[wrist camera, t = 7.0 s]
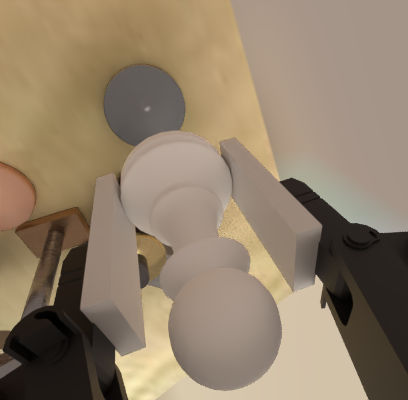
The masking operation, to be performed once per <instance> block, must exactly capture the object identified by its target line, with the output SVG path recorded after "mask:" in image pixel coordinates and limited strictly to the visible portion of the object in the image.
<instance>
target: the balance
mask: <svg viewBox="0 0 408 400" xmlns="http://www.w3.org/2000/svg"><path fill="white" fill-rule="evenodd" d="M15 233H16V234H17V235H18V236H19V237H20V239H21V240H22V241H23V242H24V243H25V244H26V245H27V247H28V248H29V249H30V250H31V251H32V252H33V253H34V255H35V256H36V257H37V258H40V260H39V263H38V267H37V270H36V273H35V276H34V279H33V283H32V286H31V289H30V292H29V295H28V298H27V302H26V305H25V308H24V311H23V314H22V317H21V320H22V319H23V318H24V317H25V316H27V315H28V314H29V313H31V312H32V311H34V310H36V309H39V308H41V307H44V306H49V302H50V297H51V293H52V289H53V285H54V280H55V276H56V272H57V267H58V263H59V259H60V255H61V251H62V250H65V249H68V248H71V247H74V246H77V245H80V244H83V243H86V242H89V234H90V227H89V226H88V224H87V222H86V221H85V219H84V218H83V216H82V214H81V213H80V211H79V209H78V208H77V207H75V208H72V209H68V210H65V211H62V212H59V213H55V214H52V215H49V216H46V217H42V218H39V219H36V220H32V221H29V222H26V223H23V224H21V225H19V226H18V227H17V229H16V231H15ZM136 243H137V254H138V265H139V276H140V288H141V289H142V288H144V287H145V286H146V285H147V284H148V282H150V281H152V280H153V279H155V278H156V277H157V276H158V275H160V273H161V270H162V268H163V266H164V264H165V263H166V261H167V257H166V252H165V248H164V246H163V245H162V243H161V242H160V241H159V240H158V239H156V238H154V237H153V236H150V235H147V234H143V233H136ZM20 365H21V363H20V362H18V361H17V360H15V359H14V358H12V357H11V356H9V355H8V354H6V353H3V354H1V355H0V379H1V378H2V377H4V376H5V375H7V374H8V373H10V372H11V371H13V370H14V369H16V368H17V367H19V366H20Z"/></svg>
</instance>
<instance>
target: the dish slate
mask: <svg viewBox="0 0 408 400" xmlns="http://www.w3.org/2000/svg"><path fill="white" fill-rule="evenodd" d="M104 112H105V117H106V120H107V122H108V124H109V126H110V128H111V129H112V131H113V132H114V133H115V134H116V135H117V136H118V137H119V138H120V139H122V140H123V141H125V142H126V143H128V144H130V145H133V146H137V145H138V144H140V143H141V142H142V141H144V140H145V139H146V138H148V137H151V136H153V135H156V134H158V133H161V132H167V131H176V130H177V131H179V130H180V128H181V126H182V124H183V121H184V117H185V101H184V97H183V94H182V92H181V90H180V88H179V86H178V85H177V83H176V82H175V81H174V80H173V79H172V78H171V77H170V76H169V75H168V74H167V73H166V72H164V71H163V70H161V69H159V68H157V67H155V66H152V65H147V64H135V65H131V66H128V67H125V68H123V69H121V70H120V71H119V72H117V73H116V74H115V75H114V76H113V77H112V79H111V80H110V82H109V84H108V85H107V88H106V91H105V96H104Z"/></svg>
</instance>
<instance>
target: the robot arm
mask: <svg viewBox="0 0 408 400" xmlns="http://www.w3.org/2000/svg"><path fill="white" fill-rule="evenodd" d="M220 149H221V155H222V158H223V159H224V161H225V162H226V164H227V165H228V167H229V169H230V173H231V177H232V194H231V196H232V198H233V199H234V201H235V202H236V204H237V206H238V207H239V209H240V210H241V212H242V213H243V215H244V216H245V218H246V219H247V221H248V223H249V224H250V226H251V227H252V229H253V230H254V232H255V233H256V235H257V237H258V238H259V240H260V241H261V243H262V244H263V246H264V247H265V249H266V250H267V252H268V254H269V255H270V257H271V258H272V260H273V261H274V263H275V264H276V266H277V267H278V269H279V271H280V272H281V274H282V275H283V277H284V278H285V280H286V281H287V283H288V284H289V286H290V288H291V289H292V291H293V292H295V291H298V290H301V289H303V288H306V287H309V286H311V285H314V282H315V275H317V276H318V277H319V278H320V280H321V281H322V282H323V290H322V296H321V308H325V306H326V302H327V304H328V306H329V309H330V311H331V313H332V315H333V318H334V320H335V322H336V325H337V327H338V329H339V332H340V334H341V336H342V339H343V341H344V343H345V346H346V348H347V350H348V353H349V355H350V357H351V360H352V362H353V364H354V367H355V369H356V371H357V374H358V376H359V378H360V381H361V383H362V385H363V388H364V390H365V392H366V395H367V397H368V399H369V400H408V232H394V233H379V232H378V231H377V230H375V229H373V228H371V227H369V226H367V225H362V224H358V223H350V222H348V221H347V220H346V219H345V218H344V217H343V216H341V215H340V214H339V213H338V212H337V211H336V210H335V209H333V208H332V207H331V206H330V205H329V204H328V203H327V202H325V201H324V200H323V199H321V198H320V196H319V195H317V194H316V193H315V192H313V190H312V189H311V188H309V187H308V186H307V185H306V184H305V183H303V182H301V181H298V180H296V179H293V178H290V179H286V180H283V181H280V182H279V181H278V180H277V179H276V178H275V177H274V176H273V175H272V174H271V173H270V172H269V171H268V170H267V169H266V168H265V167H264V166H263V165H262V164H261V163H260V162H259V161H258V160H257V159H256V158H255V157H254V156H253V155H252V154H251V153H250V152H249V151H248V150H247V149H246V148H245V147H244V146H243V145H242V144H241V143H240V142H239V141H238V140H237V139H236V138H235V137H234V138H231V139H227V140H224V141H220ZM120 195H121V190H120V186H119V184H118V181H117V179H116V177H115V175H114V173H111V174H108V175H104V176H101V177H97V179H96V187H95V194H94V202H93V210H92V218H91V226H90V234H89V242H88V244H86V245H82V246H79V247H76V248H73V249H71V250H70V252H69V254H68V255H67V257H66V258H65V260H64V261H63V265H62V269H61V276H60V279H59V283H58V285H59V287H58V288H57V292H56V297H55V301H54V305H53V306H44V307H41V308H39V309H36V310H34V311H32V312H31V313H29V314H28V315H27V316H25V317H24V318H23V319H22V320H21V321H20V322H19V323H18V324H17V325H16V326H15V327H14V328H13V329H12V331H11V332H10V334H9V336H8V337H7V339H6V341H5V345H4V348H3V352H5V353H6V354H8V355H9V356H11V357H12V358H14V359H15V360H17V361H18V362H20V363H21V365H20V366H19V367H17V368H16V369H14V370H13V371H11V372H10V373H8V374H7V375H5V376H4V377H2V378H1V379H0V400H128V397H127V394H126V390H125V386H124V383H123V379H122V375H121V372H120V370H119V369H118V367H117V366H116V364H115V349H116V350H117V352H118V353H119V354H120V355H121V356H124V355H126V354H129V353H132V352H134V351H137V350H140V349H142V348H145V347H146V344H145V332H144V321H143V310H142V299H141V288H140V276H139V265H138V254H137V243H136V231H135V225H134V224H132V223H131V222H130V220H129V219H128V217H127V215H126V214H125V212H124V209H123V206H122V203H121V199H120Z"/></svg>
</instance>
